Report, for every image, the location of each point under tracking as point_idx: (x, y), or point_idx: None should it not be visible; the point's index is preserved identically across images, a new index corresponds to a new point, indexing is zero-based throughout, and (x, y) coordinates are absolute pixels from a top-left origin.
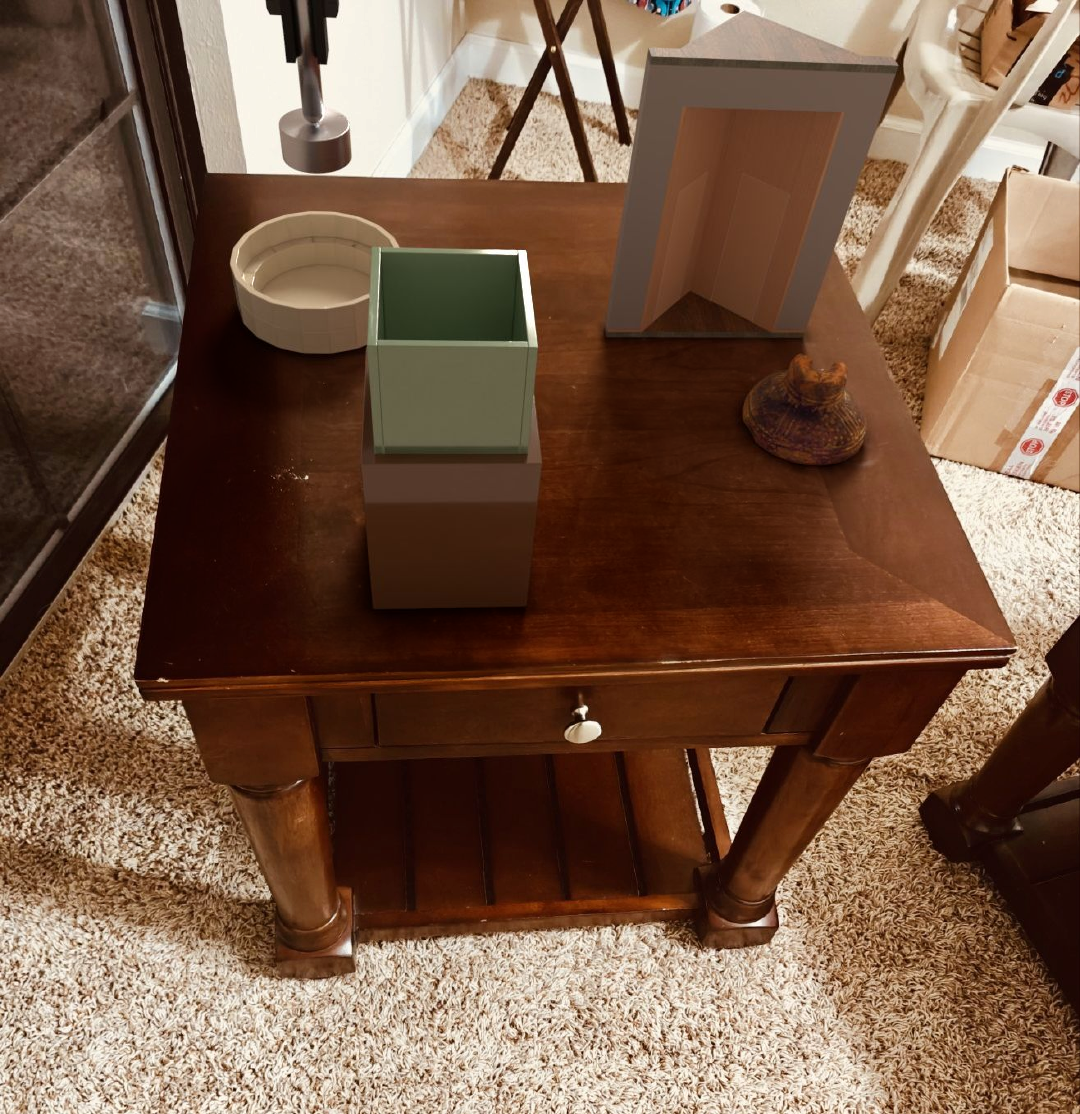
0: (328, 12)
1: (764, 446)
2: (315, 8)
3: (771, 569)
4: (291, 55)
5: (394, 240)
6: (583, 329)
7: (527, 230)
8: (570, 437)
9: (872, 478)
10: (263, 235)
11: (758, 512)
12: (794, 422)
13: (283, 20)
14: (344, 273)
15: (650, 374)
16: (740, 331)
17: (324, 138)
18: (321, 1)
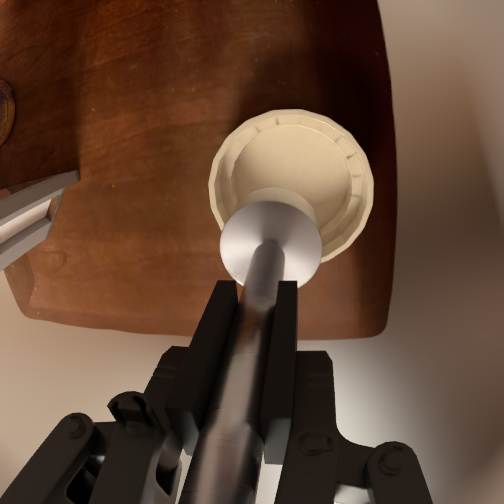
0: (184, 354)
1: (7, 84)
2: (203, 352)
3: (21, 6)
4: (284, 287)
5: (220, 225)
6: (91, 175)
7: (144, 290)
8: (95, 58)
9: None
10: (346, 236)
11: (18, 39)
12: None
13: (291, 333)
14: None
15: (53, 135)
16: (16, 186)
17: (249, 208)
18: (182, 362)
